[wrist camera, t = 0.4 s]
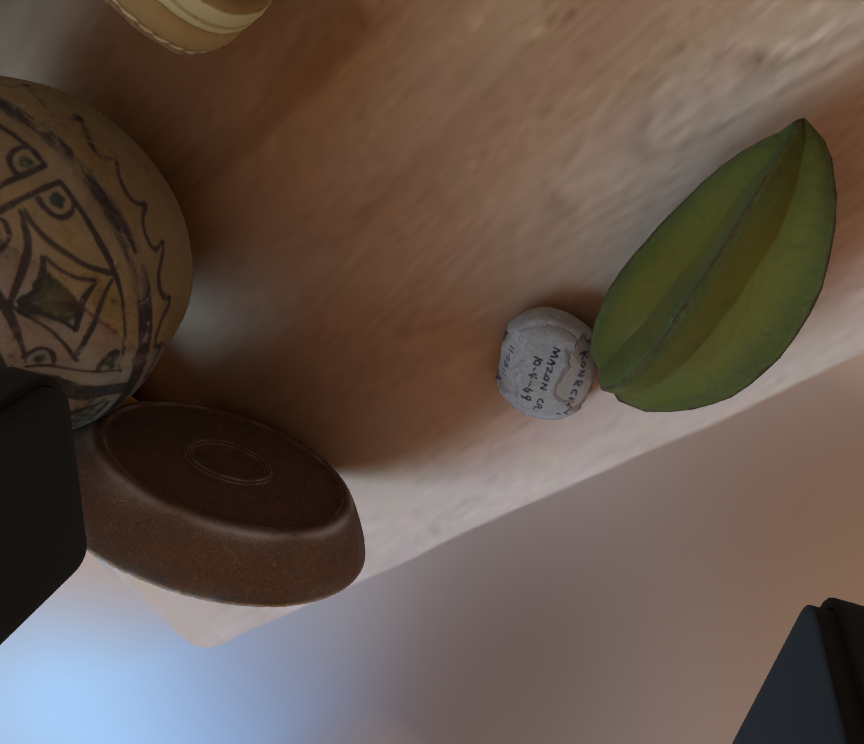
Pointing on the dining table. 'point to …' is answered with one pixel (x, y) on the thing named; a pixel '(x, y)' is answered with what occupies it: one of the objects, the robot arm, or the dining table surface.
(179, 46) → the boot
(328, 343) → the dining table surface
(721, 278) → the fruit
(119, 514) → the plant saucer
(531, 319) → the fossil
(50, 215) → the decorative pitcher
